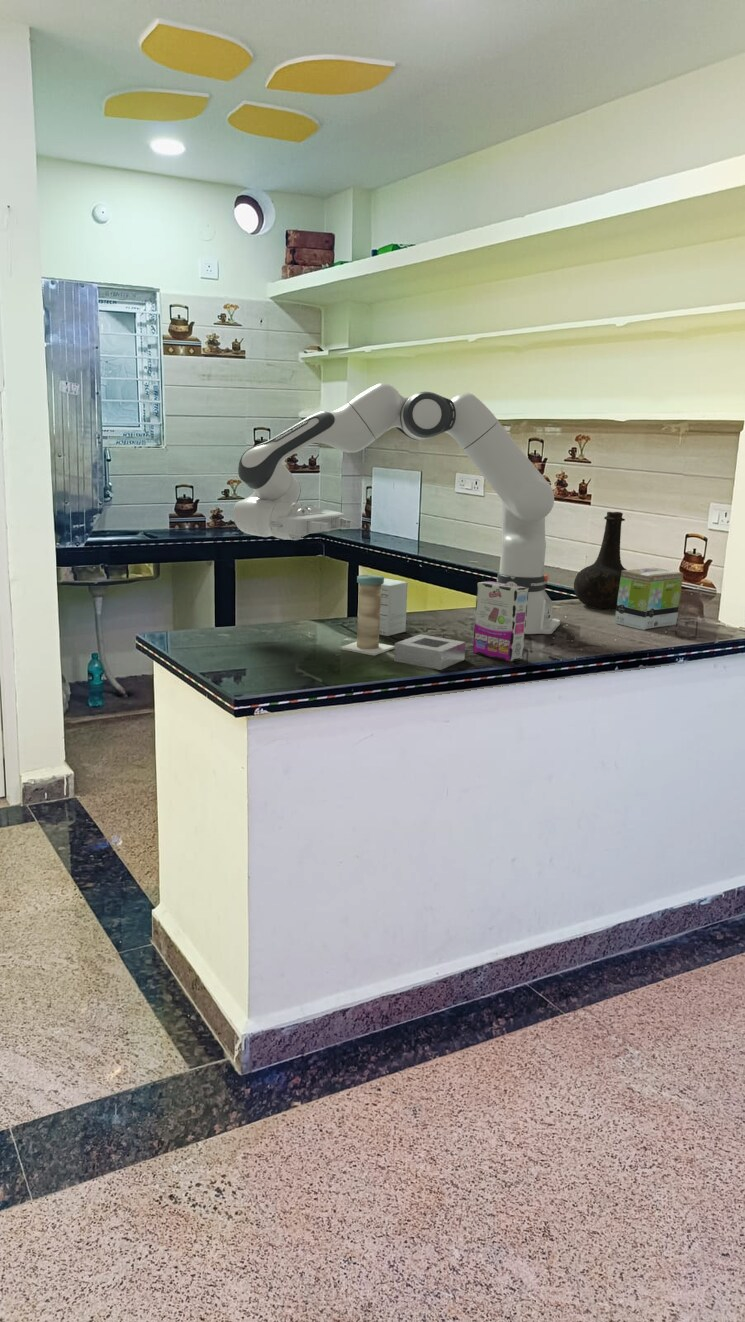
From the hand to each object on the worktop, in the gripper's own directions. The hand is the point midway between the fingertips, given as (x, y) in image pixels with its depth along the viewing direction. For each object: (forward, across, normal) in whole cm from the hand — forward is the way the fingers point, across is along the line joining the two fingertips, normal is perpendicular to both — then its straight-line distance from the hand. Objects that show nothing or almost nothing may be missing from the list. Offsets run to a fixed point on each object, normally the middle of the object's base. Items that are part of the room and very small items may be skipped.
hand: (340, 525), depth 212 cm
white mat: (+11, -4, +27) cm, 29 cm away
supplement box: (+5, +14, +27) cm, 31 cm away
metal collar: (+27, -4, +27) cm, 38 cm away
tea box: (+54, +70, +28) cm, 93 cm away
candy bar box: (+37, +10, +27) cm, 47 cm away
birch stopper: (+11, -4, +26) cm, 29 cm away
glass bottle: (+37, +86, +28) cm, 98 cm away
